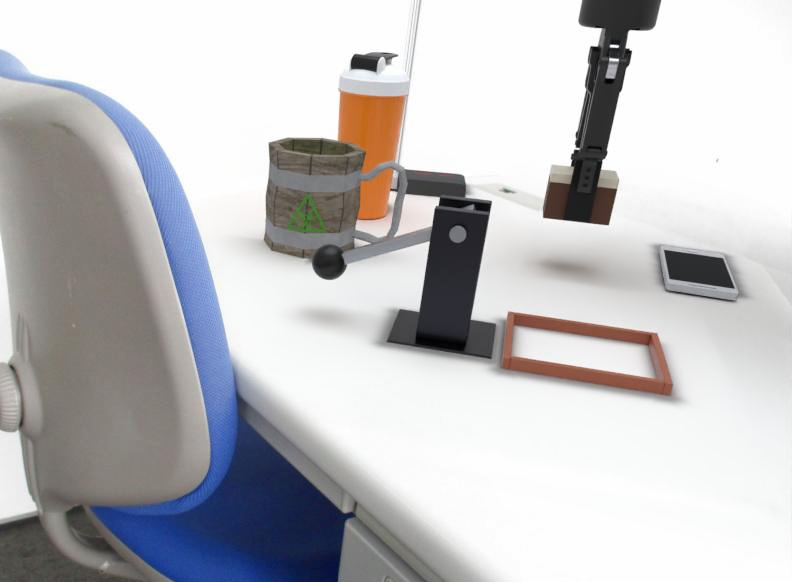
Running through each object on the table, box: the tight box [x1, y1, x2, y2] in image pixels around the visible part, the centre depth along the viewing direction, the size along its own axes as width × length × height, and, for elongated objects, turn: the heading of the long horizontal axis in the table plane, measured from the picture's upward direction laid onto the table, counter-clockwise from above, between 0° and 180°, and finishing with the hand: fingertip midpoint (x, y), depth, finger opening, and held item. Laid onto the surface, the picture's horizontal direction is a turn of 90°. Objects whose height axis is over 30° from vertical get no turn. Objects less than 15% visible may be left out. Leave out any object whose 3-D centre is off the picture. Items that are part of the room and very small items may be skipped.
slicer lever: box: [311, 204, 476, 281], centre depth 76 cm, size 15×3×3 cm, turn 72°
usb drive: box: [391, 168, 467, 198], centre depth 130 cm, size 5×12×3 cm, turn 80°
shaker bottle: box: [337, 51, 411, 220], centre depth 113 cm, size 9×9×20 cm
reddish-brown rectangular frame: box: [500, 311, 674, 396], centre depth 76 cm, size 13×11×2 cm
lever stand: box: [386, 195, 497, 360], centre depth 76 cm, size 9×8×13 cm
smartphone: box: [658, 245, 739, 301], centre depth 100 cm, size 7×16×1 cm, turn 160°
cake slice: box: [542, 164, 620, 226], centre depth 97 cm, size 7×5×5 cm
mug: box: [263, 137, 408, 259], centre depth 98 cm, size 16×11×12 cm
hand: (575, 213), depth 98 cm, fingers closed on cake slice, 5 cm apart
